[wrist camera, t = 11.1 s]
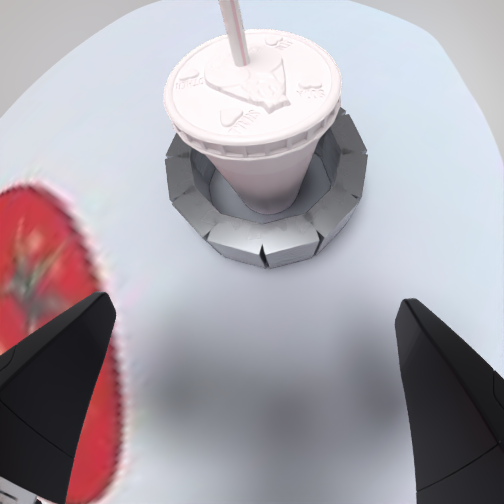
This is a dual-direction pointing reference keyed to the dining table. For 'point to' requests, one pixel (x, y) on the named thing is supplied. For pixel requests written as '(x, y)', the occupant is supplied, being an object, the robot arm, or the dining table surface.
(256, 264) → the stone ring
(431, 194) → the dining table surface
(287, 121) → the smoothie
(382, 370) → the dining table surface
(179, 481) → the dining table surface
